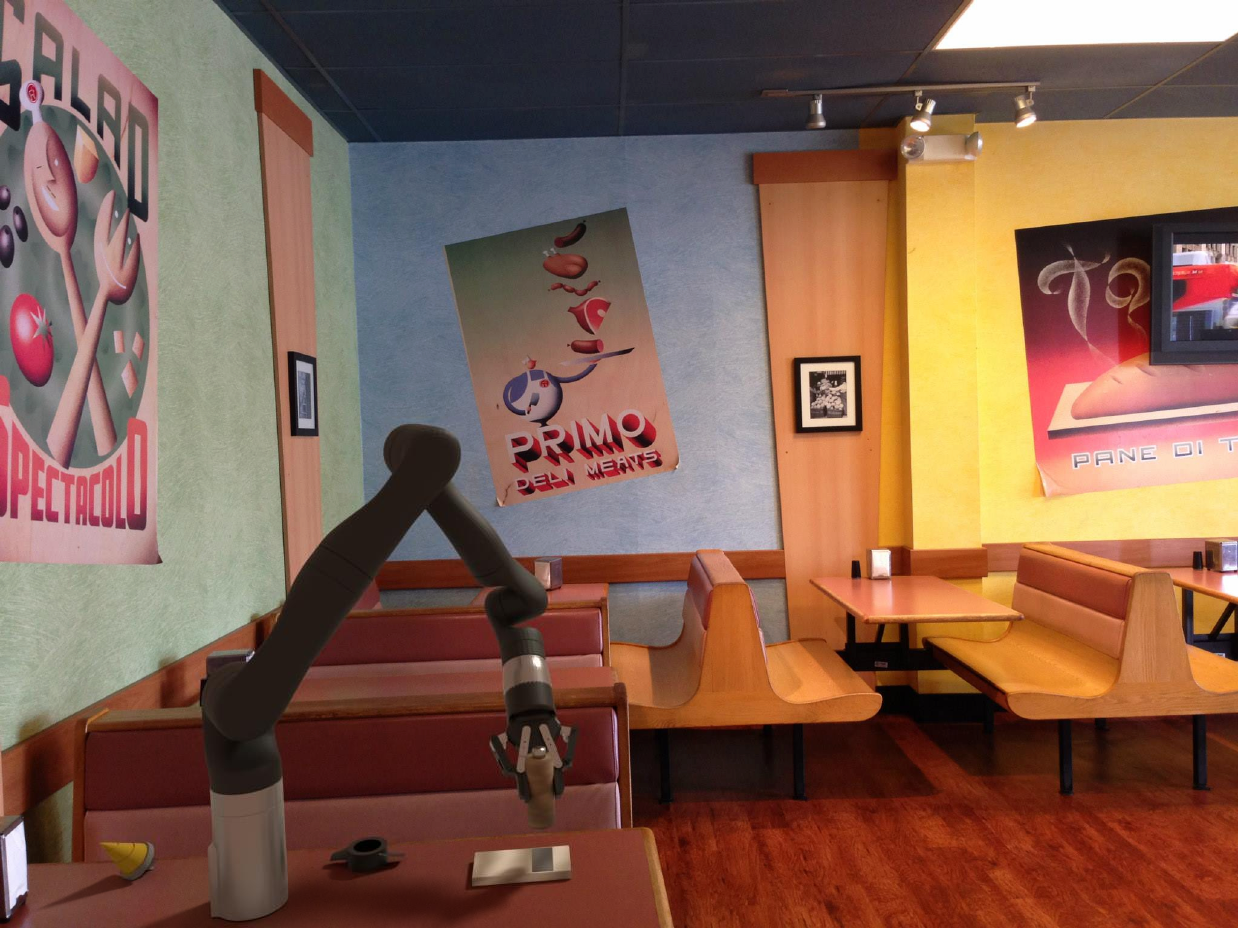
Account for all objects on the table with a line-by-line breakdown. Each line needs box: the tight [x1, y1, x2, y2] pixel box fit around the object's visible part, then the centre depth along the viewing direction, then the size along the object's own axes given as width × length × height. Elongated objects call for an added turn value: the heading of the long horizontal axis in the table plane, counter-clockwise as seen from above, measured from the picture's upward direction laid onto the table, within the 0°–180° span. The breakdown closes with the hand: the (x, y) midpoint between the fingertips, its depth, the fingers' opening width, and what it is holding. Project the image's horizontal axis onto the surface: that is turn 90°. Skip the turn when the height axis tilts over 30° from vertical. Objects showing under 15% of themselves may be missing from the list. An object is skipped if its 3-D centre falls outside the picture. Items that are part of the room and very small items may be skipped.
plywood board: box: [471, 845, 572, 887], centre depth 134 cm, size 14×8×1 cm, turn 96°
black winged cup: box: [329, 836, 406, 874], centre depth 137 cm, size 8×10×3 cm
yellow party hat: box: [99, 840, 159, 881], centre depth 134 cm, size 5×5×10 cm
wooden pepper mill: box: [525, 746, 556, 831], centre depth 134 cm, size 4×4×11 cm
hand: (542, 798), depth 132 cm, fingers closed on wooden pepper mill, 4 cm apart
